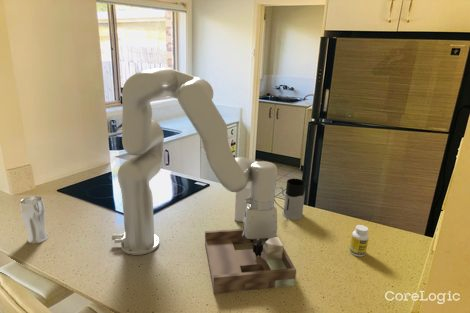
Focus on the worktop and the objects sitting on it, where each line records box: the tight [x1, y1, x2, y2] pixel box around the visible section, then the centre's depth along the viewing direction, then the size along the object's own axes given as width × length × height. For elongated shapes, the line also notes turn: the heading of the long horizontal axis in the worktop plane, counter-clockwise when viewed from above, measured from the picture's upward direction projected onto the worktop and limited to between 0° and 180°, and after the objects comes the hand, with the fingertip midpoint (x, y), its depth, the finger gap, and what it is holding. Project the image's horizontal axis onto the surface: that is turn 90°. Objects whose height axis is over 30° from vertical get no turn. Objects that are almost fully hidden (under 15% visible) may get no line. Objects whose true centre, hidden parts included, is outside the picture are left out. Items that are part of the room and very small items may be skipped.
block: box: [263, 236, 284, 260], centre depth 105 cm, size 5×5×5 cm
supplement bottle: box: [348, 224, 370, 257], centre depth 112 cm, size 5×5×10 cm
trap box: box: [204, 228, 297, 295], centre depth 104 cm, size 24×24×6 cm
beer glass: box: [19, 195, 49, 245], centre depth 111 cm, size 7×7×15 cm
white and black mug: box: [274, 178, 307, 221], centre depth 134 cm, size 9×14×15 cm, turn 107°
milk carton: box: [234, 182, 250, 223], centre depth 130 cm, size 7×7×19 cm
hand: (257, 253), depth 105 cm, fingers closed
